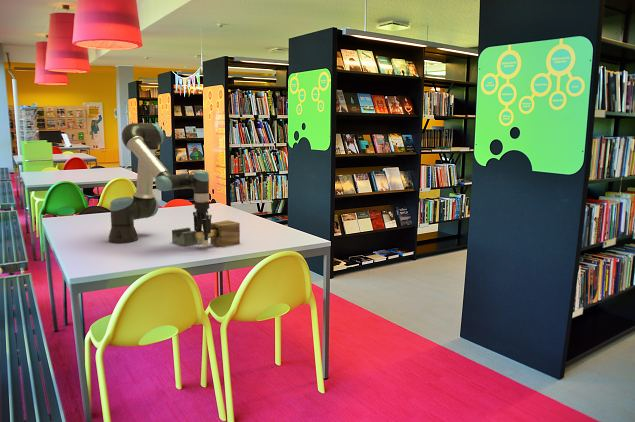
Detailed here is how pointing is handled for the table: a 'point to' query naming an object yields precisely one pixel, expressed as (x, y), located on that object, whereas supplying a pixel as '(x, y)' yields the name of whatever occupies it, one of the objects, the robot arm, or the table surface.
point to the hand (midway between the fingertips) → (202, 245)
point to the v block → (184, 237)
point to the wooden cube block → (226, 233)
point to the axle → (213, 234)
